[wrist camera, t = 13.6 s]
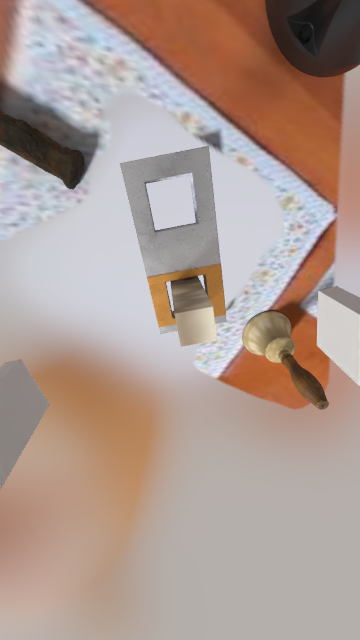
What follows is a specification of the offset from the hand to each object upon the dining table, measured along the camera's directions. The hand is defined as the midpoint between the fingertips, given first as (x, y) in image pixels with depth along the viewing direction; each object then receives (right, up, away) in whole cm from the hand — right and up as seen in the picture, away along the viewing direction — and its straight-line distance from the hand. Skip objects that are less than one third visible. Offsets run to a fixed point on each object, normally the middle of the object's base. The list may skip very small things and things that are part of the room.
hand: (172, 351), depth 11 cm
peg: (+1, +6, +26) cm, 26 cm away
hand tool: (-20, +23, +17) cm, 34 cm away
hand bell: (+15, -1, +30) cm, 34 cm away
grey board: (0, +11, +23) cm, 26 cm away
